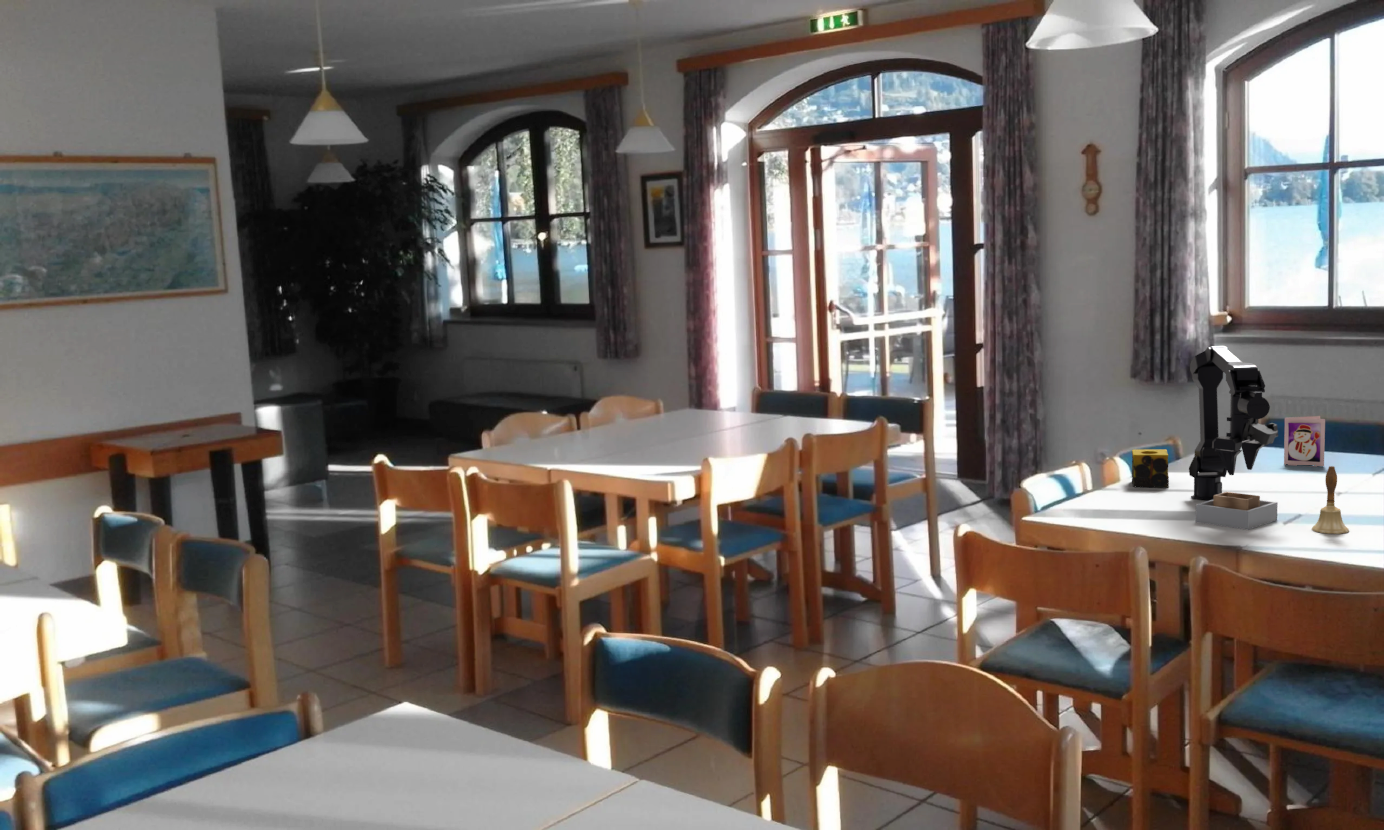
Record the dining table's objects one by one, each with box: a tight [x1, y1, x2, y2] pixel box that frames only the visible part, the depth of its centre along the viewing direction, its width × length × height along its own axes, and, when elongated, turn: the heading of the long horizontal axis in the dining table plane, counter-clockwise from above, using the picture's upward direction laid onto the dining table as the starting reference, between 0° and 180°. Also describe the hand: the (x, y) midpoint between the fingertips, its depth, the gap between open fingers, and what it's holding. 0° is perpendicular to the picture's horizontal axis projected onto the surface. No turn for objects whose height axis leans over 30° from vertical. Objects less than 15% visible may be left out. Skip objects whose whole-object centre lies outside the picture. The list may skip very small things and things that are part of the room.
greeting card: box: [1283, 415, 1326, 467], centre depth 408 cm, size 11×7×15 cm, turn 58°
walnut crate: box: [1213, 491, 1261, 511], centre depth 334 cm, size 9×6×6 cm
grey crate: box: [1195, 499, 1278, 531], centre depth 334 cm, size 14×15×5 cm
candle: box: [1131, 448, 1170, 489], centre depth 386 cm, size 10×10×10 cm
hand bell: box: [1311, 465, 1350, 535], centre depth 319 cm, size 8×8×16 cm
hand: (1240, 472), depth 339 cm, fingers open, 9 cm apart
